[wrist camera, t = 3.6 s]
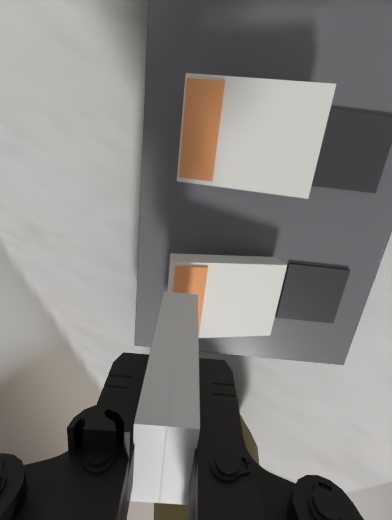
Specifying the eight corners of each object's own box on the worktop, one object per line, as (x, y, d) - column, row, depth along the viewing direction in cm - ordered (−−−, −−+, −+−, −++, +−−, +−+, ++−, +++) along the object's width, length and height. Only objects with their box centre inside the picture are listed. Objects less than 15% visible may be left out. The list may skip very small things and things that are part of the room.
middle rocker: (329, 90, 12) (337, 83, 11) (304, 195, 14) (308, 199, 12) (192, 80, 13) (185, 72, 12) (182, 179, 15) (176, 181, 13)
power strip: (595, -102, 14) (772, -215, 10) (403, 338, 23) (451, 380, 19) (171, -169, 13) (158, -324, 9) (144, 313, 22) (132, 351, 18)
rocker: (276, 256, 16) (288, 265, 15) (261, 323, 17) (271, 336, 16) (170, 253, 15) (173, 262, 13) (164, 326, 16) (166, 340, 15)
